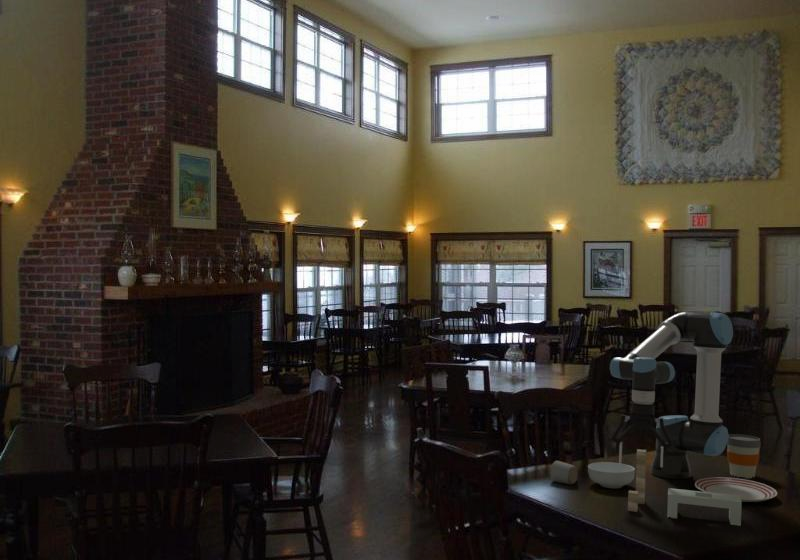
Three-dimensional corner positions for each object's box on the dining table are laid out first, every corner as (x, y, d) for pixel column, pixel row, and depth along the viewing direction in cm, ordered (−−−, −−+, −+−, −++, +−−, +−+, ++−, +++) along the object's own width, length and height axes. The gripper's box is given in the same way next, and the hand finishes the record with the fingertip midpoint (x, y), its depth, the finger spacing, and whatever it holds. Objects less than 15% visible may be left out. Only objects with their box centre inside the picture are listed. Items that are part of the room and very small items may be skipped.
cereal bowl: (613, 478, 312) (614, 459, 312) (644, 489, 297) (644, 470, 297) (578, 482, 304) (578, 463, 304) (608, 493, 289) (608, 474, 289)
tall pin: (635, 501, 281) (637, 449, 281) (644, 501, 280) (646, 450, 280) (635, 503, 278) (636, 450, 278) (644, 504, 277) (645, 451, 277)
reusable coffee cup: (766, 479, 316) (767, 440, 316) (736, 479, 314) (737, 441, 314) (747, 471, 329) (749, 434, 328) (719, 471, 327) (720, 434, 326)
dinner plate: (773, 511, 273) (773, 502, 273) (688, 498, 286) (688, 489, 286) (780, 493, 297) (780, 484, 297) (701, 482, 310) (701, 473, 310)
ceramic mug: (569, 486, 297) (570, 465, 297) (549, 482, 302) (550, 462, 302) (582, 481, 305) (583, 461, 305) (562, 478, 311) (563, 457, 311)
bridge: (667, 510, 270) (668, 488, 270) (738, 518, 264) (739, 495, 263) (667, 517, 263) (668, 494, 263) (740, 525, 256) (741, 502, 256)
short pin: (628, 508, 272) (628, 490, 272) (637, 509, 271) (638, 491, 271) (627, 510, 269) (628, 492, 269) (637, 511, 268) (637, 493, 268)
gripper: (604, 400, 279) (602, 462, 279) (681, 407, 271) (679, 470, 271) (606, 398, 286) (604, 458, 286) (681, 404, 278) (679, 465, 278)
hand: (640, 464), depth 279 cm, fingers open, 13 cm apart
